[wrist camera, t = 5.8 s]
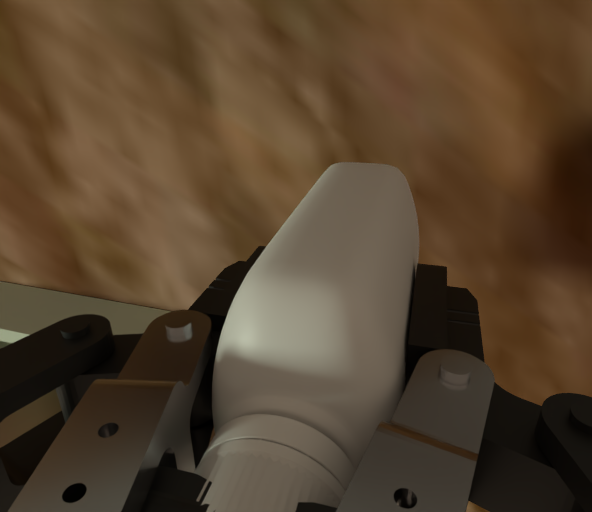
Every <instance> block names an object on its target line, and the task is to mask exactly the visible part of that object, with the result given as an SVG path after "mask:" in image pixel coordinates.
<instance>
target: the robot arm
mask: <svg viewBox="0 0 592 512" xmlns="http://www.w3.org/2000/svg"><path fill="white" fill-rule="evenodd" d="M265 248H266V246H259V247H258V248H257V249H256V250H255V251H254V253H253V254H252V255H251V256H250V258H249V259H248V260H247V261H246V262H244V261H238V262H236V263H234V264H232V265H230V266H228V267H227V268H225V269H224V270H223V271H222V272H221V273H220V274H219V275H218V276H217V278H216V280H214V281H213V282H212V283H211V284H210V285H209V288H207V289H206V290H205V291H204V292H203V293H202V294H201V296H200V297H199V298H198V299H197V300H196V301H195V302H194V303H193V305H192V306H191V307H190V308H189V309H188V310H179V311H173V312H169V313H166V314H163V315H161V316H159V317H157V318H156V319H154V320H153V321H152V322H151V323H150V324H149V325H148V327H147V328H146V330H145V332H144V333H141V334H122V335H113V333H112V328H111V324H110V321H109V320H108V319H107V318H106V317H103V316H101V315H96V314H82V315H76V316H72V317H68V318H65V319H63V320H60V321H58V322H56V323H54V324H52V325H50V326H48V327H45V328H43V329H41V330H39V331H37V332H35V333H33V334H31V335H28V336H26V337H24V338H22V339H20V340H18V341H16V342H14V343H11V344H9V345H7V346H5V347H3V348H1V349H0V423H1V422H2V421H3V420H4V419H5V418H6V417H8V416H9V415H11V414H12V413H14V412H16V411H18V410H19V409H21V408H23V407H25V406H26V405H28V404H30V403H32V402H33V401H35V400H37V399H39V398H40V397H42V396H44V395H46V394H47V393H49V392H51V391H53V390H54V389H56V393H57V396H58V399H59V403H60V406H61V409H62V411H60V412H58V413H57V414H55V415H53V416H52V417H50V418H48V419H47V420H45V421H44V422H42V423H40V424H39V425H37V426H35V427H34V428H32V429H30V430H29V431H27V432H26V433H24V434H22V435H21V436H19V437H17V438H16V439H14V440H13V441H11V442H9V443H8V444H6V445H4V446H3V447H1V448H0V512H206V511H207V509H208V507H209V505H210V504H203V505H201V504H202V502H203V500H204V498H205V496H206V494H207V492H208V490H209V488H210V486H211V484H212V482H211V481H209V483H208V484H207V486H206V488H205V490H204V492H203V494H202V496H201V498H200V500H199V502H198V501H196V500H197V498H198V496H199V494H200V492H201V490H202V488H203V486H204V484H205V483H206V481H207V479H205V478H203V477H202V476H200V475H198V474H195V473H194V472H195V470H196V468H197V466H198V465H199V463H200V461H201V459H202V457H203V455H204V454H205V452H206V450H207V448H208V446H209V445H210V443H211V441H212V439H213V437H214V436H215V430H214V424H213V413H212V380H213V371H214V363H215V357H216V352H217V347H218V343H219V339H220V335H221V331H222V329H223V326H224V323H225V320H226V317H227V314H228V311H229V309H230V306H231V304H232V302H233V299H234V297H235V295H236V293H237V291H238V290H239V288H240V286H241V284H242V282H243V280H244V278H245V277H246V275H247V273H248V272H249V270H250V269H251V267H252V266H253V265H254V263H255V262H256V260H257V259H258V258H259V256H260V255H261V253H262V252H263V251H264V249H265ZM478 314H479V312H478V303H477V300H476V299H475V297H474V296H473V295H472V294H471V293H470V292H469V290H468V289H466V288H458V287H450V286H447V267H444V266H435V265H426V264H417V269H416V278H415V287H414V296H413V305H412V313H411V322H410V331H409V340H408V349H407V358H406V366H405V376H406V379H405V391H404V393H403V395H402V397H401V399H400V402H399V404H398V406H397V408H396V410H395V412H394V415H393V417H392V419H391V421H390V422H388V421H385V420H382V421H381V422H380V423H379V425H378V427H377V429H376V430H375V432H374V435H373V437H372V439H371V441H370V443H369V445H368V447H367V449H366V451H365V453H364V455H363V457H362V459H361V461H360V463H359V465H358V467H357V469H356V471H355V473H354V476H353V478H352V480H351V482H350V484H349V486H348V488H347V490H346V492H345V494H344V496H343V498H342V500H341V502H340V504H339V506H338V508H335V507H331V506H327V505H323V504H319V503H315V502H298V505H297V508H296V511H295V512H466V509H467V504H468V500H469V501H471V502H473V503H474V504H476V505H478V506H480V507H482V508H484V509H486V510H488V511H490V512H592V397H589V396H585V395H580V394H574V393H561V394H556V395H553V396H550V397H549V398H547V399H546V400H545V401H544V403H543V405H542V406H540V405H537V404H534V403H532V402H529V401H526V400H524V399H521V398H519V397H517V396H514V395H512V394H511V393H509V392H507V391H505V390H504V389H502V388H501V387H500V386H499V385H497V384H496V383H495V382H494V380H495V379H494V375H493V373H492V371H491V369H490V368H489V367H488V366H487V365H486V364H485V363H484V354H483V346H482V337H481V329H480V320H479V316H478ZM214 512H215V511H214Z"/></svg>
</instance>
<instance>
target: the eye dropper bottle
mask: <svg viewBox="0 0 592 512" xmlns="http://www.w3.org/2000/svg"><path fill="white" fill-rule="evenodd" d="M418 257H419V228H418V220H417V214H416V209H415V205H414V201H413V197H412V194H411V191H410V188H409V185H408V183H407V180H406V178H405V176H404V175H403V173H402V172H401V171H400V170H399V169H398V168H396V167H393V166H390V165H387V164H376V163H356V162H340V163H336V164H332V165H331V166H330V167H329V168H328V169H327V170H326V171H325V172H324V173H323V174H322V176H321V177H320V178H319V179H318V181H317V182H316V183H315V184H314V186H313V187H312V188H311V190H310V191H309V192H308V193H307V195H306V196H305V197H304V199H303V200H302V201H301V202H300V204H299V205H298V206H297V207H296V209H295V210H294V211H293V213H292V214H291V215H290V217H289V218H288V219H287V220H286V222H285V223H284V224H283V226H282V227H281V228H280V230H279V231H278V232H277V233H276V235H275V236H274V237H273V239H272V240H271V241H270V243H269V244H268V245H267V246H266V248H265V249H264V251H263V252H262V253H261V255H260V256H259V258H258V259H257V260H256V262H255V263H254V265H253V266H252V267H251V269H250V270H249V272H248V273H247V275H246V277H245V278H244V280H243V282H242V284H241V286H240V288H239V290H238V291H237V293H236V295H235V297H234V299H233V302H232V304H231V306H230V309H229V311H228V314H227V317H226V320H225V323H224V326H223V329H222V331H221V335H220V339H219V343H218V347H217V352H216V357H215V363H214V371H213V380H212V413H213V424H214V430H215V436H214V437H213V439H212V441H211V443H210V445H209V446H208V448H207V450H206V452H205V454H204V455H203V457H202V459H201V461H200V463H199V465H198V466H197V468H196V470H195V472H194V473H195V474H198V475H200V476H202V477H203V478H205V479H207V481H206V483H205V484H204V486H203V488H202V490H201V492H200V494H199V496H198V498H197V500H196V501H198V502H199V500H200V498H201V496H202V494H203V492H204V490H205V488H206V486H207V484H208V483H209V481H211V482H212V484H211V486H210V488H209V490H208V492H207V494H206V496H205V498H204V500H203V502H202V504H201V505H203V504H210V505H209V507H208V509H207V511H206V512H214V511H215V512H295V511H296V508H297V505H298V502H315V503H319V504H323V505H327V506H331V507H335V508H338V506H339V504H340V502H341V500H342V498H343V496H344V494H345V492H346V490H347V488H348V486H349V484H350V482H351V480H352V478H353V476H354V473H355V471H356V469H357V467H358V465H359V463H360V461H361V459H362V457H363V455H364V453H365V451H366V449H367V447H368V445H369V443H370V441H371V439H372V437H373V435H374V432H375V430H376V429H377V427H378V425H379V423H380V422H381V421H382V420H385V421H388V422H390V421H391V419H392V417H393V415H394V412H395V410H396V408H397V406H398V404H399V402H400V399H401V397H402V395H403V393H404V391H405V379H406V376H405V366H406V358H407V349H408V340H409V331H410V322H411V313H412V305H413V296H414V287H415V278H416V269H417V264H418Z"/></svg>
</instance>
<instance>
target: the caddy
mask: <svg viewBox="0 0 592 512" xmlns="http://www.w3.org/2000/svg"><path fill="white" fill-rule="evenodd" d="M169 312H172V311H167V310H161V309H155V308H149V307H144V306H138V305H132V304H127V303H121V302H115V301H110V300H104V299H98V298H93V297H87V296H81V295H75V294H70V293H64V292H58V291H53V290H47V289H41V288H36V287H30V286H24V285H19V284H13V283H7V282H1V281H0V349H1V348H3V347H5V346H7V345H9V344H11V343H14V342H16V341H18V340H20V339H22V338H24V337H26V336H28V335H31V334H33V333H35V332H37V331H39V330H41V329H43V328H45V327H48V326H50V325H52V324H54V323H56V322H58V321H60V320H63V319H65V318H68V317H72V316H76V315H82V314H96V315H101V316H103V317H106V318H107V319H108V320H109V321H110V324H111V328H112V333H113V335H122V334H141V333H144V332H145V330H146V328H147V327H148V325H149V324H150V323H151V322H152V321H153V320H154V319H156V318H157V317H159V316H161V315H163V314H166V313H169ZM60 411H62V409H61V406H60V403H59V399H58V396H57V393H56V389H54V390H53V391H51V392H49V393H47V394H46V395H44V396H42V397H40V398H39V399H37V400H35V401H33V402H32V403H30V404H28V405H26V406H25V407H23V408H21V409H19V410H18V411H16V412H14V413H12V414H11V415H9V416H8V417H6V418H5V419H4V420H3V421H2V422H1V423H0V448H1V447H3V446H4V445H6V444H8V443H9V442H11V441H13V440H14V439H16V438H17V437H19V436H21V435H22V434H24V433H26V432H27V431H29V430H30V429H32V428H34V427H35V426H37V425H39V424H40V423H42V422H44V421H45V420H47V419H48V418H50V417H52V416H53V415H55V414H57V413H58V412H60Z"/></svg>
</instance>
